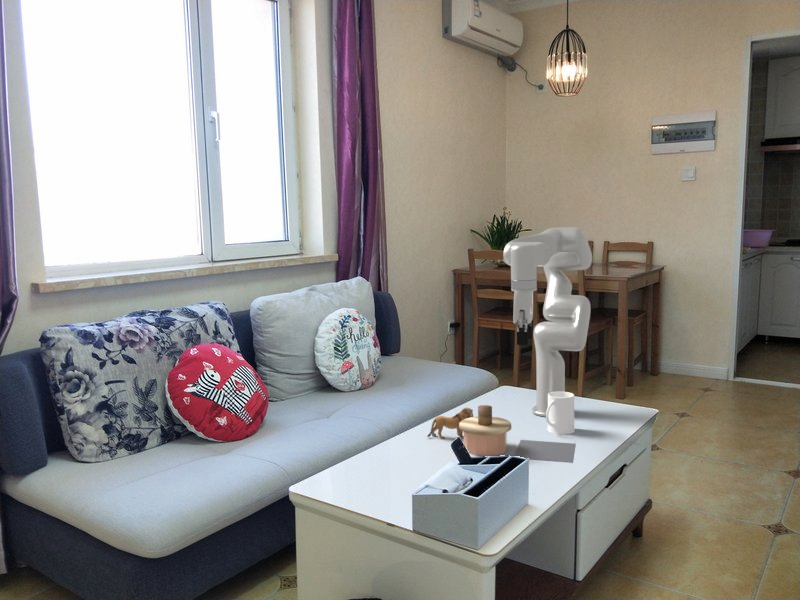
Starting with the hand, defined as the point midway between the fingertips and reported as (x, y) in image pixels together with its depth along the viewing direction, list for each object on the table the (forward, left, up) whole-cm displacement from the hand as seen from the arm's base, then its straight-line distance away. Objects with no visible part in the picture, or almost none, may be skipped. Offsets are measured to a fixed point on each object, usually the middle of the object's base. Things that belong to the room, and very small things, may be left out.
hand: (524, 341), depth 204 cm
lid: (+15, -10, -23) cm, 29 cm away
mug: (-6, +9, -30) cm, 32 cm away
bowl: (+15, -10, -30) cm, 35 cm away
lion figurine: (+4, -22, -30) cm, 38 cm away
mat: (+13, +7, -30) cm, 33 cm away
